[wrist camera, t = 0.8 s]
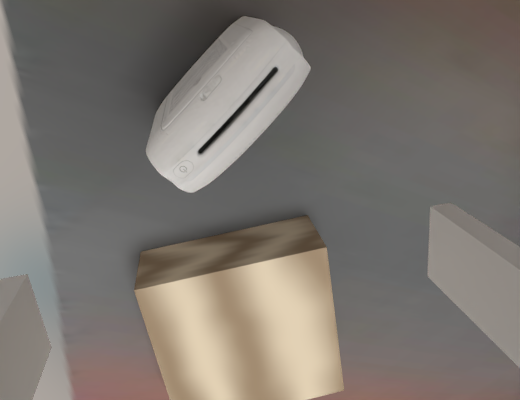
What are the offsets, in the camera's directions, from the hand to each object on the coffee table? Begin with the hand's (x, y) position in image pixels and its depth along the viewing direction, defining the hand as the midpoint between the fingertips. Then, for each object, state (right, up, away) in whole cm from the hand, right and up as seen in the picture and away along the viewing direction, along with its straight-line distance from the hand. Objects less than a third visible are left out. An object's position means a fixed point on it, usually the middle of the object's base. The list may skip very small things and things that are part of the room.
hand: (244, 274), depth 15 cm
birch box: (-1, -6, +26) cm, 27 cm away
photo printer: (-3, +11, +19) cm, 22 cm away
